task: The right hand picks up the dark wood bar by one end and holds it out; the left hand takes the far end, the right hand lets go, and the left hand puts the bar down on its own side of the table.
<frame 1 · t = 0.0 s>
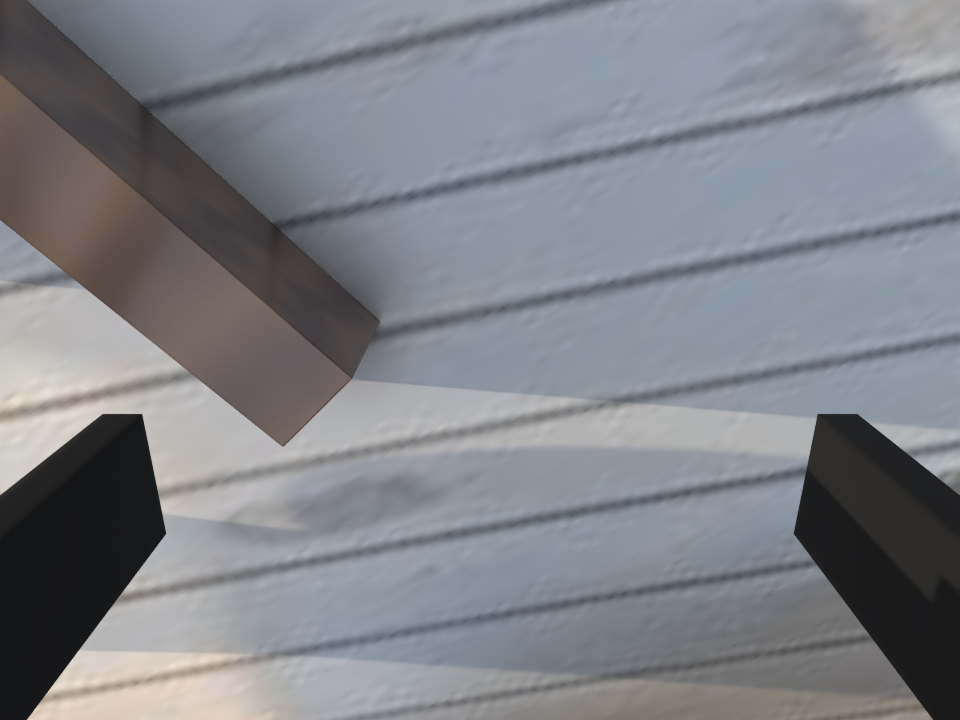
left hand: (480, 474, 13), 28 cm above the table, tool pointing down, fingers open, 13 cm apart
bar: (146, 169, 38), on the table
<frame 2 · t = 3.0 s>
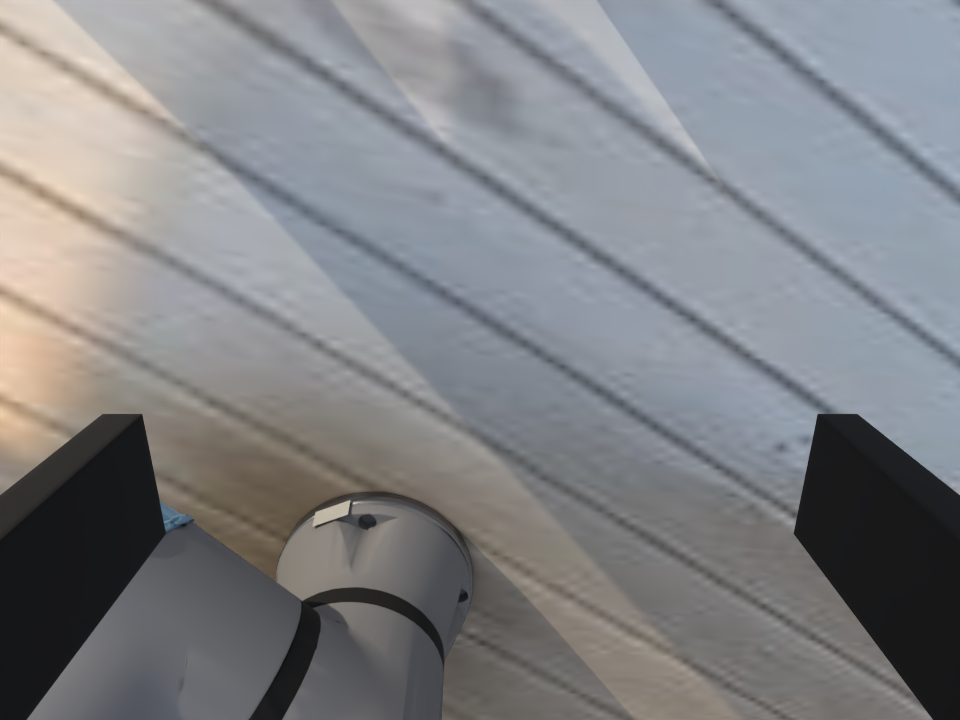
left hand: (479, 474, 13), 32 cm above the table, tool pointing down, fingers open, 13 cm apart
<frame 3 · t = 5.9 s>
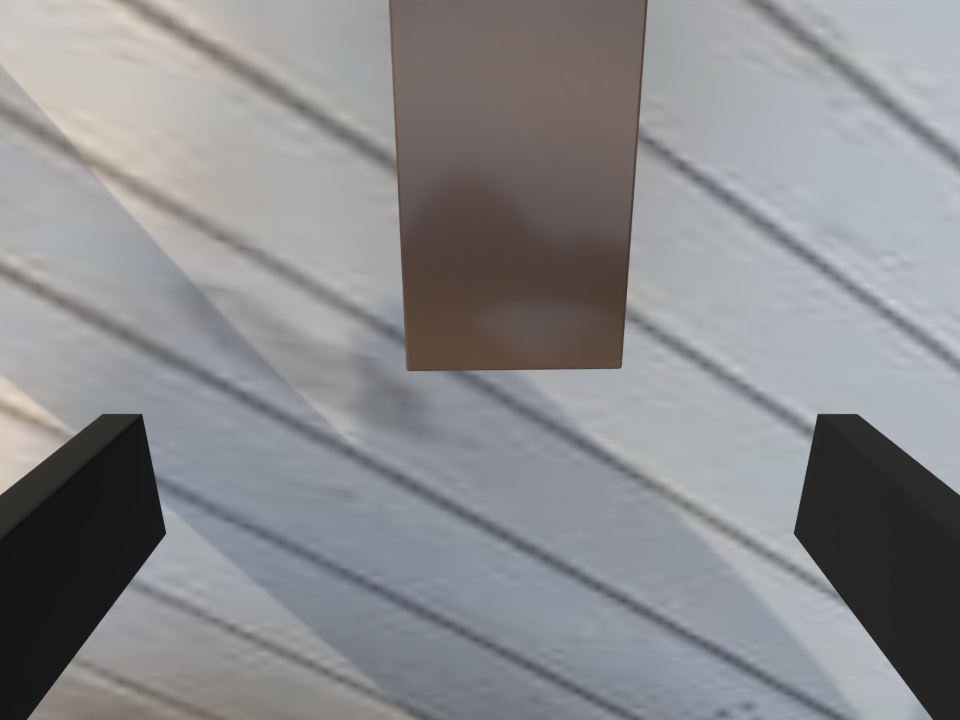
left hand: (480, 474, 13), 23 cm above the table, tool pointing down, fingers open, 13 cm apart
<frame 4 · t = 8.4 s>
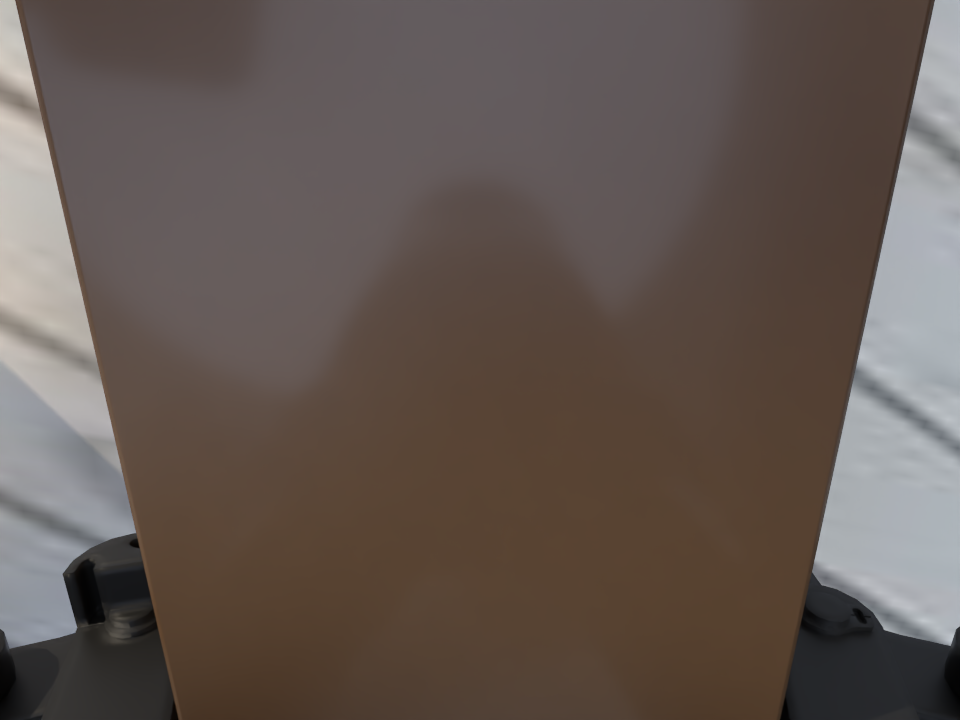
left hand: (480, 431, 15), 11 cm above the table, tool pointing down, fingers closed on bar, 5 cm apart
when the right hand's fingers open (11 cm above the table, at t = 9.1 s): bar stays where it is, held by the left hand.
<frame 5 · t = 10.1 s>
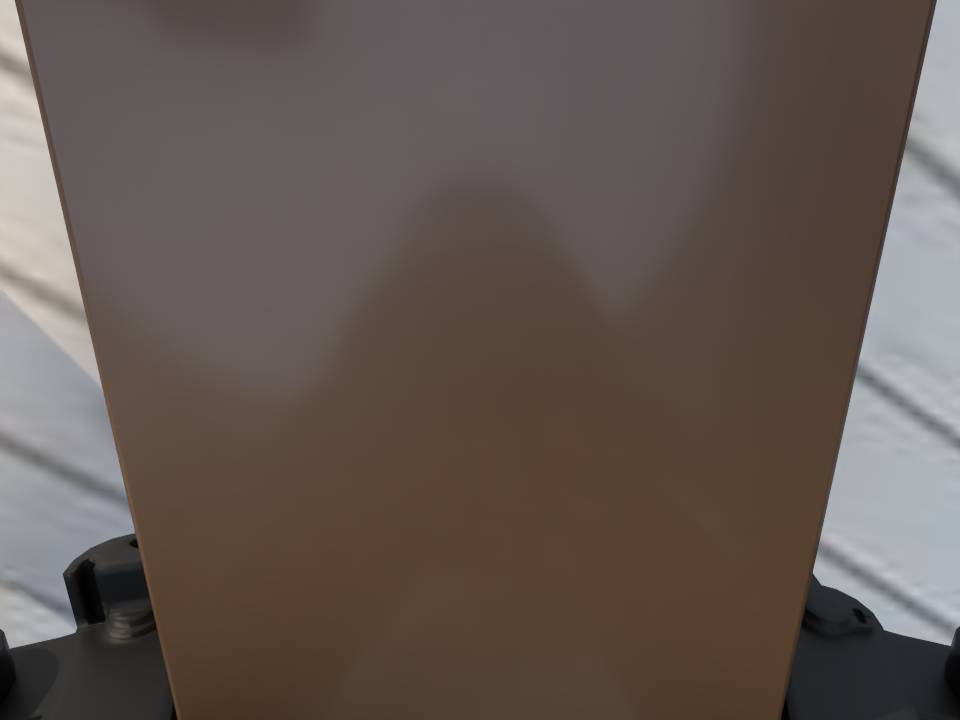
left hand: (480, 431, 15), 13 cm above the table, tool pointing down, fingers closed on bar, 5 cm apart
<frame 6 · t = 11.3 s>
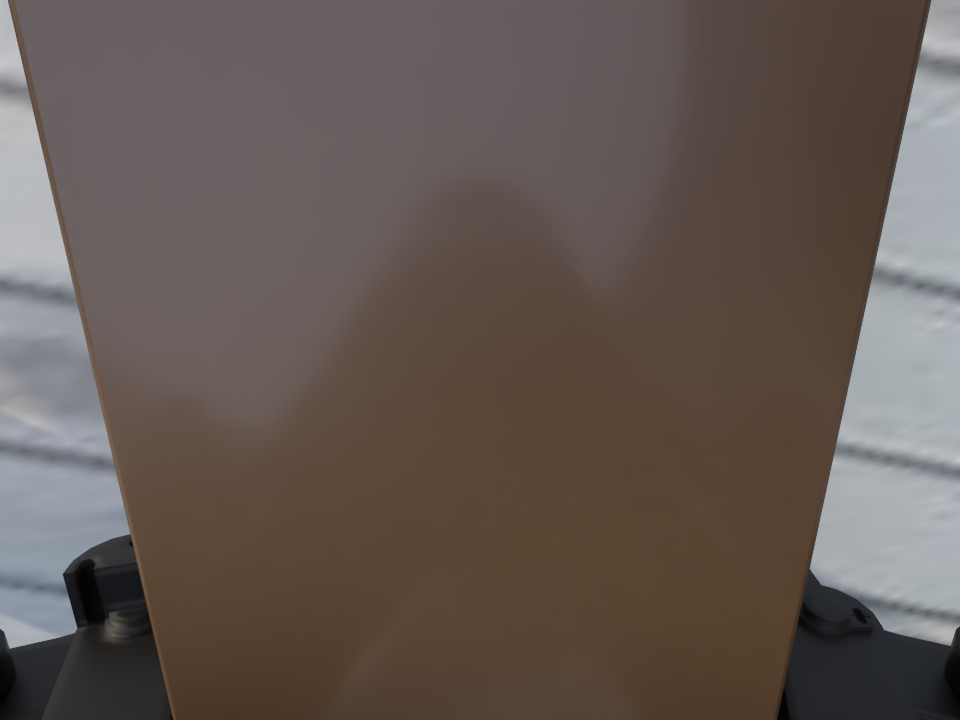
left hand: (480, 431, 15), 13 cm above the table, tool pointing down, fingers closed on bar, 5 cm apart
when the left hand's fingers open (2 cm above the table, at t = 14.5 s): bar drops 2 cm, on the table.
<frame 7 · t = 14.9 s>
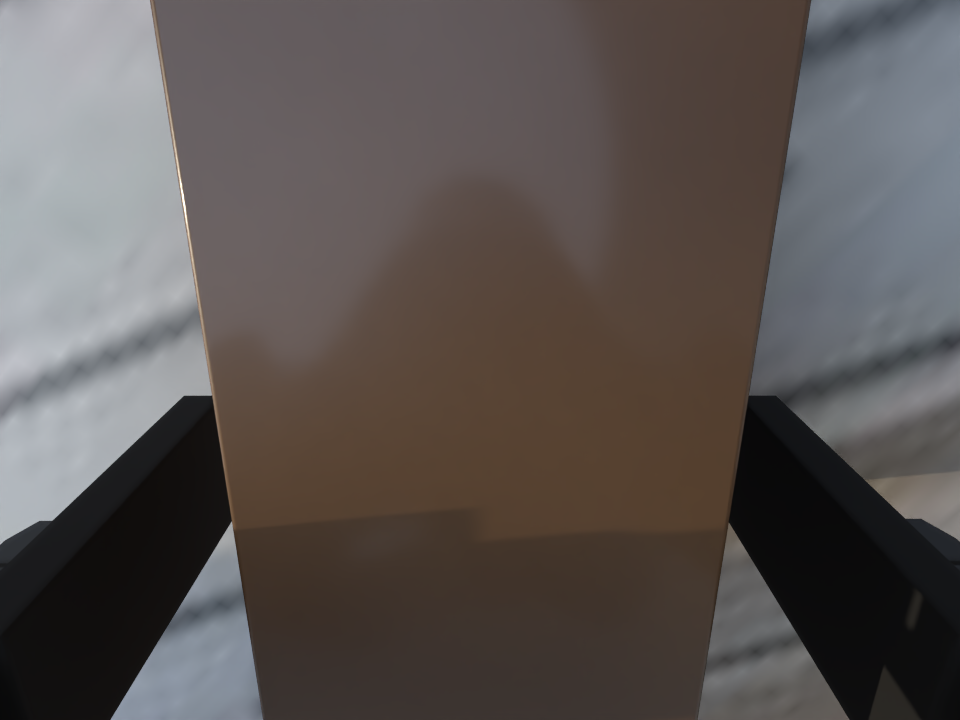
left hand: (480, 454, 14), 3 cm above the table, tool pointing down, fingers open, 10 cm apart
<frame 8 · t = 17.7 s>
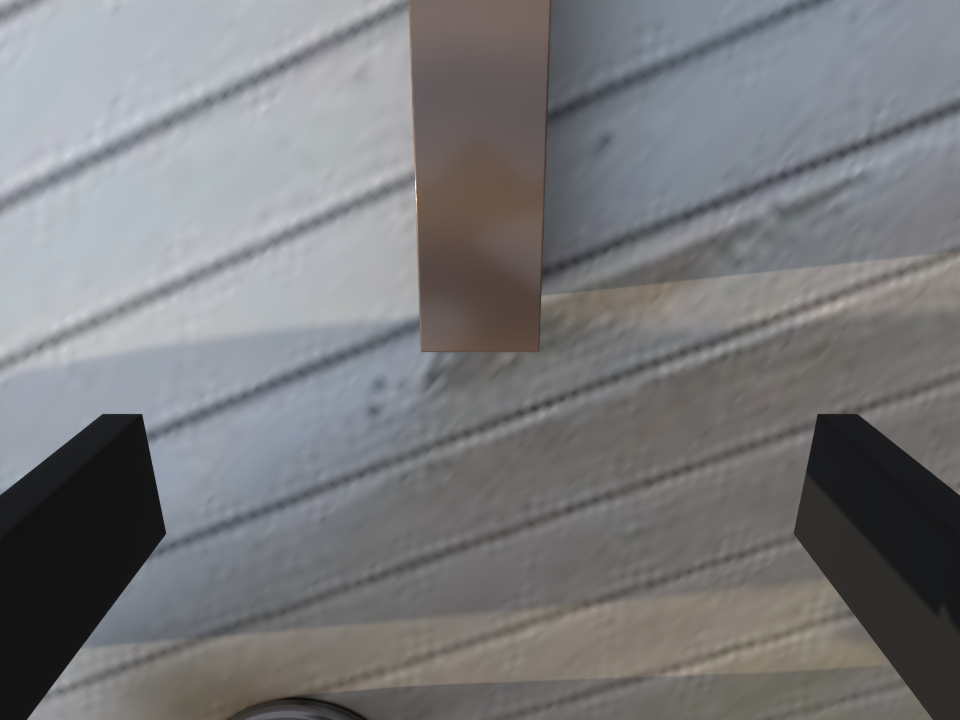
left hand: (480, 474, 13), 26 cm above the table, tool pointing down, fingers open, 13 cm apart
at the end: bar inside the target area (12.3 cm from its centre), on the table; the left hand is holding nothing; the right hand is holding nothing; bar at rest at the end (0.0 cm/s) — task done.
